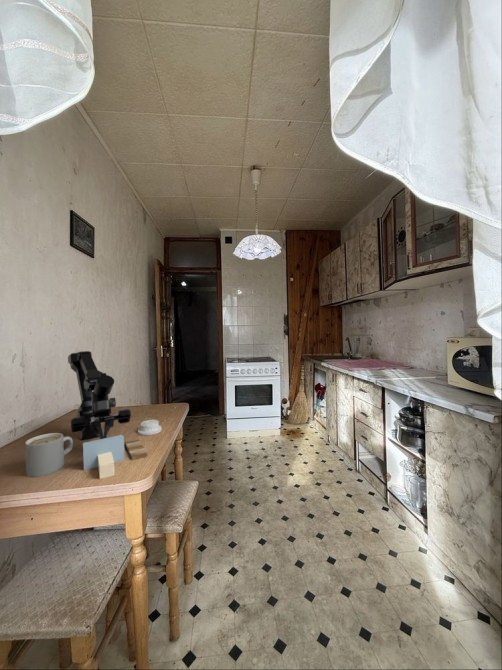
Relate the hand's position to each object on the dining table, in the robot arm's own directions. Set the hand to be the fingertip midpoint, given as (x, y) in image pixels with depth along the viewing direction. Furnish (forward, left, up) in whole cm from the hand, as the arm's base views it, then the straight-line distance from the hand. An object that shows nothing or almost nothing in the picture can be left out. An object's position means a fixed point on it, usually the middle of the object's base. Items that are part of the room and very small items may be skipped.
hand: (103, 442), depth 93 cm
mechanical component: (-20, +19, -7) cm, 29 cm away
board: (-3, +10, -7) cm, 13 cm away
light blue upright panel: (+6, 0, -7) cm, 9 cm away
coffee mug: (-6, -15, -7) cm, 18 cm away
